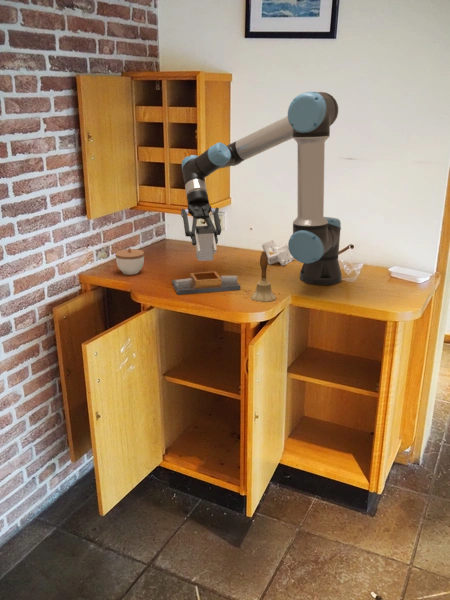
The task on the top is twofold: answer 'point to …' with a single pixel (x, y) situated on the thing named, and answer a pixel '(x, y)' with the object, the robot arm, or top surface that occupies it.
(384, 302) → the top surface
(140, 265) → the lidded jar
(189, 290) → the base
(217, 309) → the top surface
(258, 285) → the hand bell
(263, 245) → the mounting bracket
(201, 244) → the block
